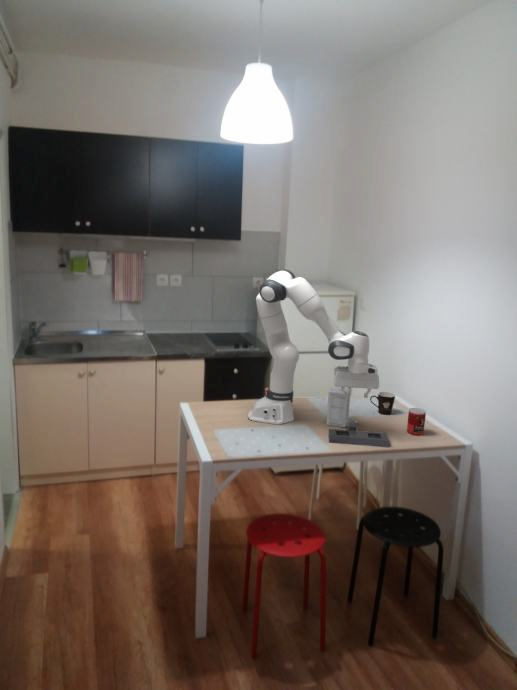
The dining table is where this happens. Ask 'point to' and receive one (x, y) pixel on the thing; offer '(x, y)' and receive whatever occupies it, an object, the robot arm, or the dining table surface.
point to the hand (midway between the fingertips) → (355, 396)
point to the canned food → (416, 421)
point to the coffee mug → (385, 402)
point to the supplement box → (338, 407)
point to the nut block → (352, 424)
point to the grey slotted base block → (358, 437)
